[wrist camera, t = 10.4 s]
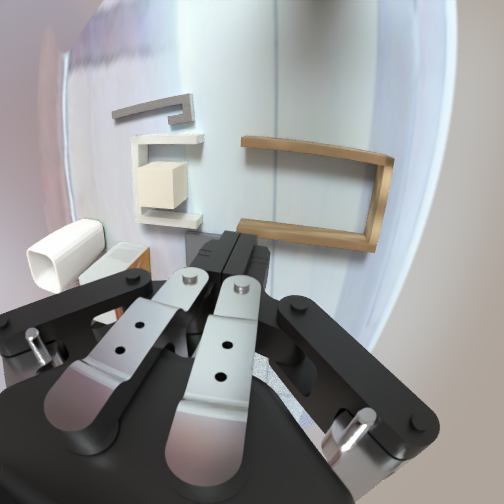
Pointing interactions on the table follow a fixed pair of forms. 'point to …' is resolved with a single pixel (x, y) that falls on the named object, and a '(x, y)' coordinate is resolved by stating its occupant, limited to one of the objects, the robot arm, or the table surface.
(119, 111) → the crook tool
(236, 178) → the table surface
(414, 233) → the table surface
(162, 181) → the cream cube
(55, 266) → the white rounded prism
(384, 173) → the wooden u-shaped frame
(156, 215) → the cream bay
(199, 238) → the hole frame
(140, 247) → the small box
